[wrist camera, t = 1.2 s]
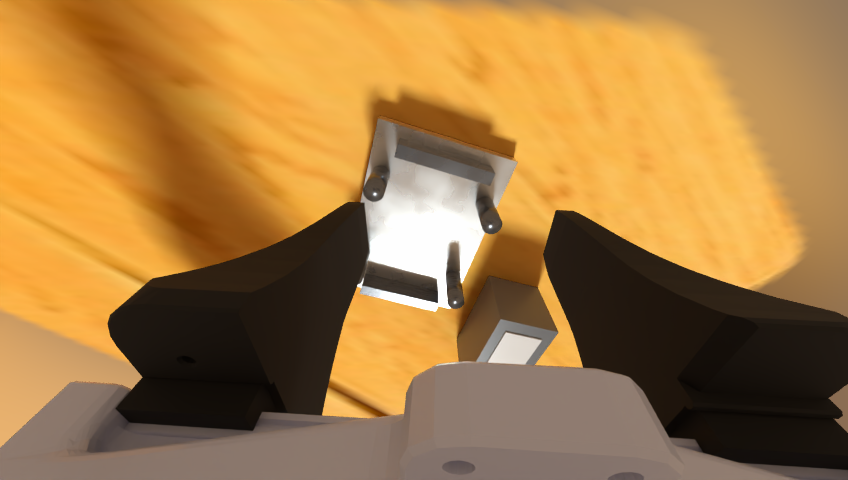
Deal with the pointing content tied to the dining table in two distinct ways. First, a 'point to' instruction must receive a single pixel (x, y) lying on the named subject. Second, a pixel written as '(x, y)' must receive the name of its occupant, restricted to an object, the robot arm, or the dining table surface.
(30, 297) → the dining table surface
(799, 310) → the robot arm
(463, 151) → the pin tray
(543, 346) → the block
